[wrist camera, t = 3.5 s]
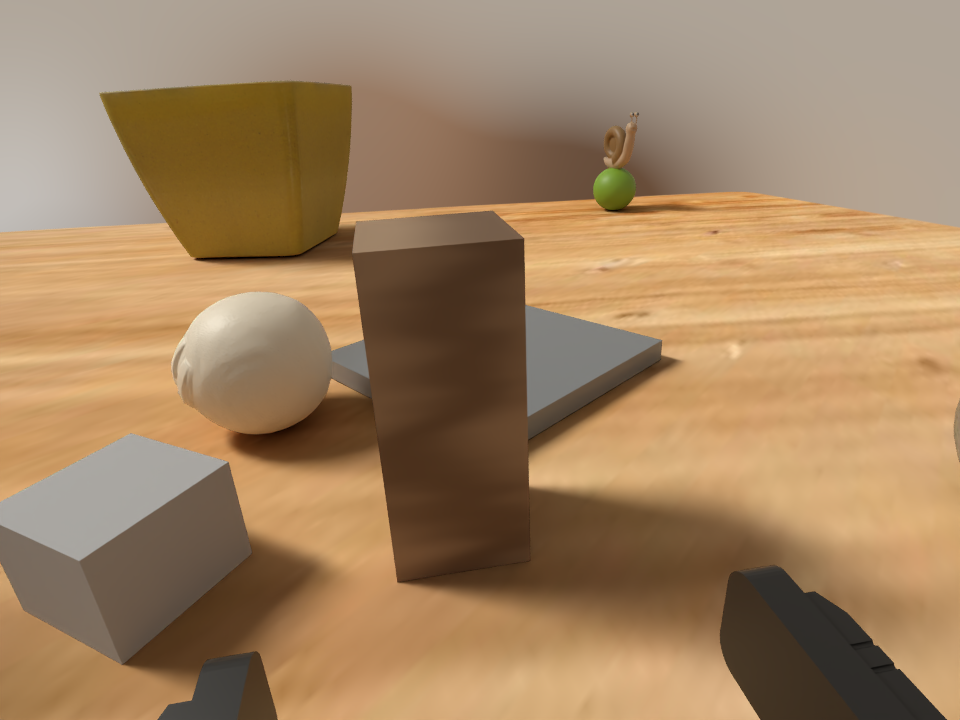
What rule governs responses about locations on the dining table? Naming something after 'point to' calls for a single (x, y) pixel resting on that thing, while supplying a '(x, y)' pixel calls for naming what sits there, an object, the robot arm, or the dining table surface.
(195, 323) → the steamed bun
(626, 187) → the snail figurine
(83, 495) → the grey block
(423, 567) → the walnut block
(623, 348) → the plate
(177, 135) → the flower pot
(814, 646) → the robot arm
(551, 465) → the dining table surface
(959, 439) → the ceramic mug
